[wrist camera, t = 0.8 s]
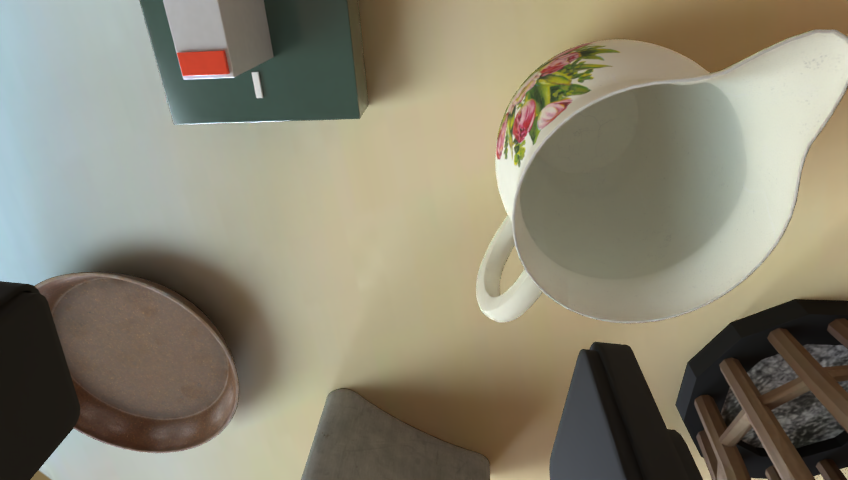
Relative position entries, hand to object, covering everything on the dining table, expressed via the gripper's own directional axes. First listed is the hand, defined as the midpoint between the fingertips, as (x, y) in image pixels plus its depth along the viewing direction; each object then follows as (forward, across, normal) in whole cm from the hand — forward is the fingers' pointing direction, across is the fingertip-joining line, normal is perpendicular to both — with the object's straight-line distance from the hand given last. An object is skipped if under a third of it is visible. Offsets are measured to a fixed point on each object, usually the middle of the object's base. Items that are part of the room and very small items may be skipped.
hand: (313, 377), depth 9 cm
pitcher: (+25, -10, +2) cm, 27 cm away
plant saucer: (+26, +21, +23) cm, 40 cm away
